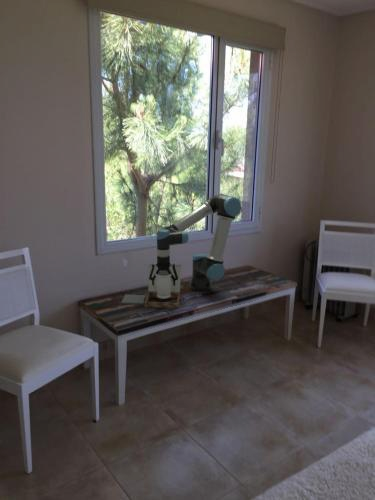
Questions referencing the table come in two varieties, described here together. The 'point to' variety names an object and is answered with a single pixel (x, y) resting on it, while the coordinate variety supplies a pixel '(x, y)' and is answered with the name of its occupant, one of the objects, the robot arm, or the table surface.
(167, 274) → the jar
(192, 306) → the table surface
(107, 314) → the table surface
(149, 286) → the lid
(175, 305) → the cold frame
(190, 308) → the table surface
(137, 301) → the slate tile
